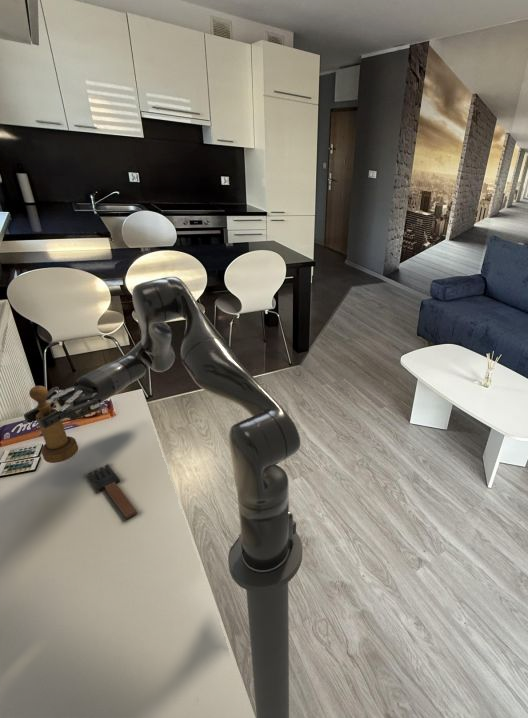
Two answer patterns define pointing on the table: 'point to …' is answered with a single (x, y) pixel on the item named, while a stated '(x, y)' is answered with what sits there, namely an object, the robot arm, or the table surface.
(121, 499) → the brush with brown handle
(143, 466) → the table surface
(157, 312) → the robot arm
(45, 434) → the mortar and pestle
